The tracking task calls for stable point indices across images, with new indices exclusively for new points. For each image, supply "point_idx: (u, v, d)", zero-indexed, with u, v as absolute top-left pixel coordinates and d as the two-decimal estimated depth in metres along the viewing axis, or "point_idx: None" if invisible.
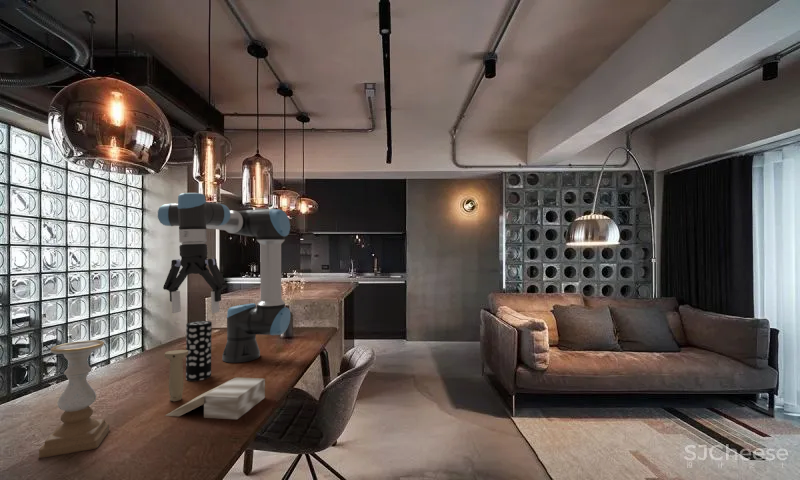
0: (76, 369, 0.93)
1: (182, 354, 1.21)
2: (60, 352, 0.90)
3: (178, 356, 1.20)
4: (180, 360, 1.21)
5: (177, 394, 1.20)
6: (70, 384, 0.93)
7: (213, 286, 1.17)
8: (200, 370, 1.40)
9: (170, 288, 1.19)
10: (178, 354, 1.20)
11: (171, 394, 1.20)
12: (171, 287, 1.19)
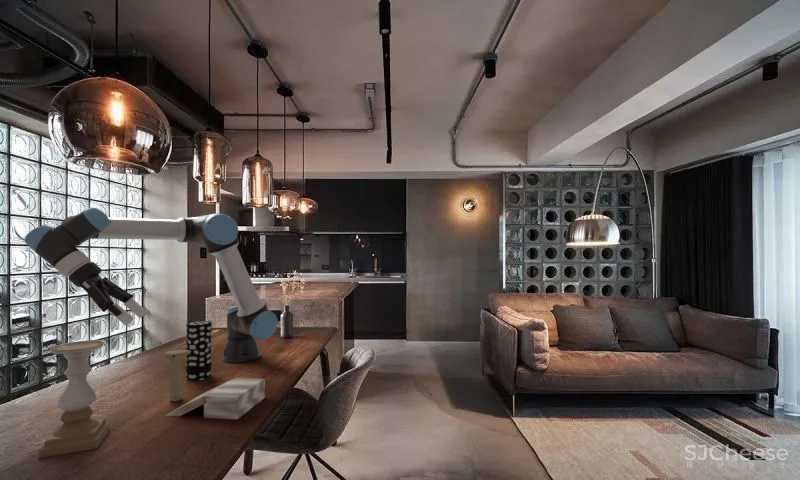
0: (76, 369, 0.93)
1: (182, 354, 1.21)
2: (60, 352, 0.90)
3: (178, 356, 1.20)
4: (180, 360, 1.21)
5: (177, 394, 1.20)
6: (70, 384, 0.93)
7: None
8: (200, 370, 1.40)
9: None
10: (178, 354, 1.20)
11: (171, 394, 1.20)
12: None
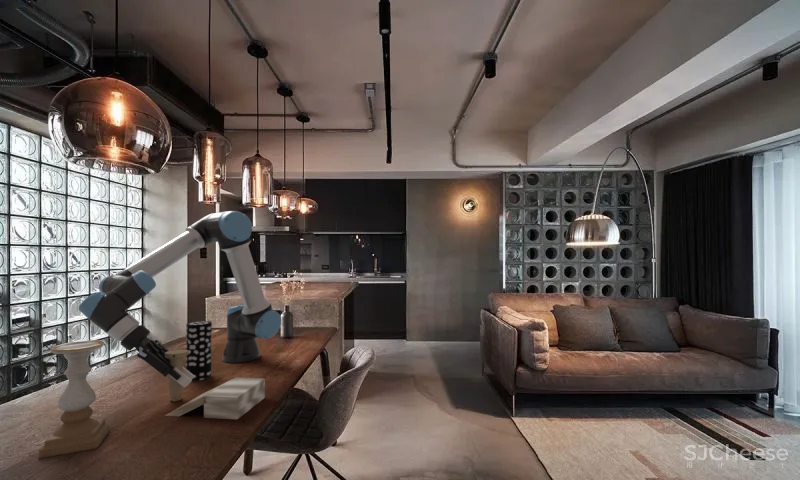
0: (76, 369, 0.93)
1: (182, 354, 1.21)
2: (60, 352, 0.90)
3: (178, 356, 1.20)
4: (180, 360, 1.21)
5: (177, 394, 1.20)
6: (70, 384, 0.93)
7: None
8: (200, 370, 1.40)
9: None
10: (178, 354, 1.20)
11: (171, 394, 1.20)
12: None
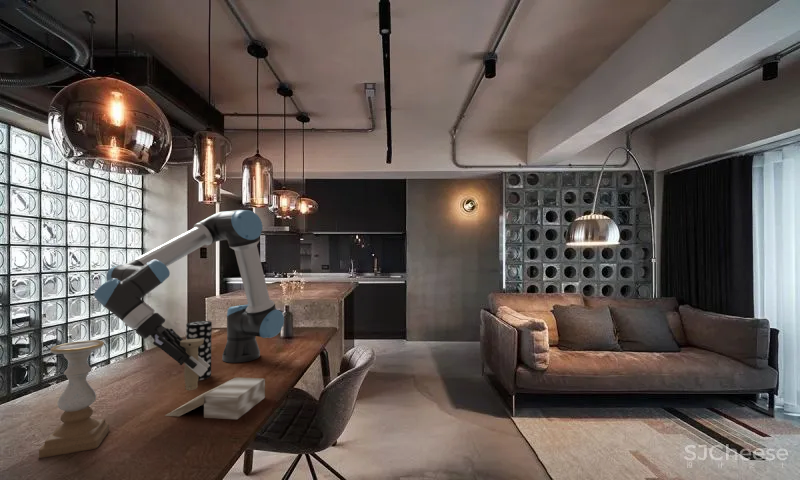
0: (76, 369, 0.93)
1: (198, 342, 1.19)
2: (60, 352, 0.90)
3: (194, 344, 1.18)
4: (196, 349, 1.20)
5: (193, 383, 1.19)
6: (70, 384, 0.93)
7: None
8: None
9: None
10: (194, 342, 1.18)
11: (187, 383, 1.18)
12: None
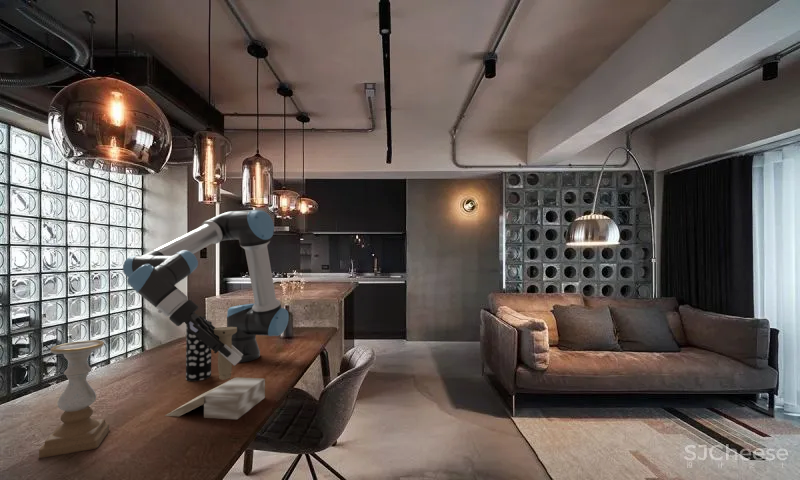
0: (76, 369, 0.93)
1: (232, 330, 1.16)
2: (60, 352, 0.90)
3: (228, 332, 1.15)
4: (229, 337, 1.16)
5: (226, 372, 1.15)
6: (70, 384, 0.93)
7: None
8: (200, 370, 1.40)
9: None
10: (228, 330, 1.15)
11: (220, 372, 1.15)
12: None
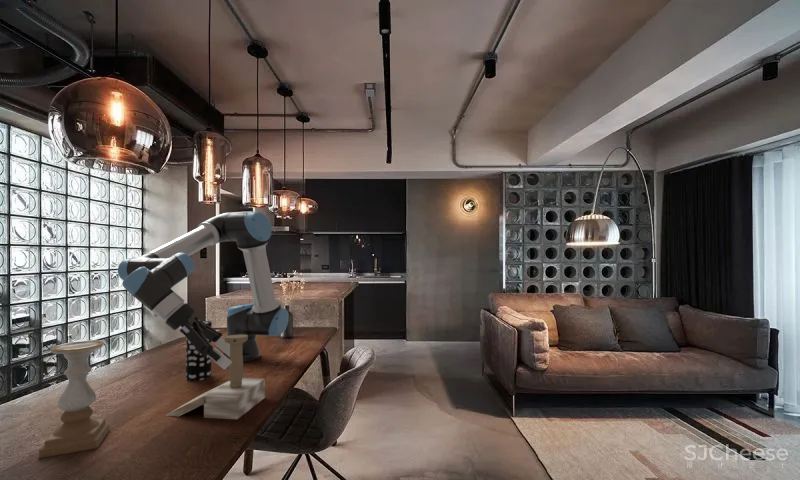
0: (76, 369, 0.93)
1: (243, 338, 1.15)
2: (60, 352, 0.90)
3: (239, 340, 1.14)
4: (240, 345, 1.16)
5: (237, 380, 1.15)
6: (70, 384, 0.93)
7: None
8: (200, 370, 1.40)
9: (212, 340, 1.21)
10: (239, 338, 1.14)
11: (231, 380, 1.14)
12: None
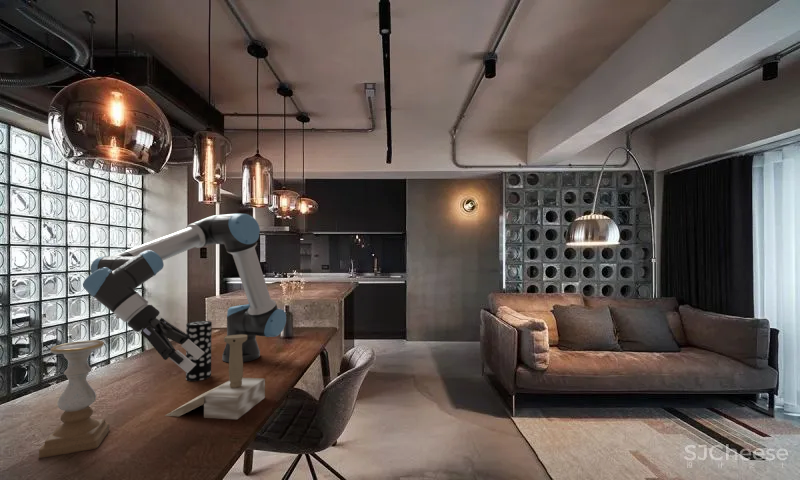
0: (76, 369, 0.93)
1: (242, 338, 1.15)
2: (60, 352, 0.90)
3: (238, 340, 1.14)
4: (240, 345, 1.16)
5: (237, 380, 1.15)
6: (70, 384, 0.93)
7: None
8: (200, 370, 1.40)
9: (179, 342, 1.18)
10: (238, 338, 1.14)
11: (231, 380, 1.14)
12: None
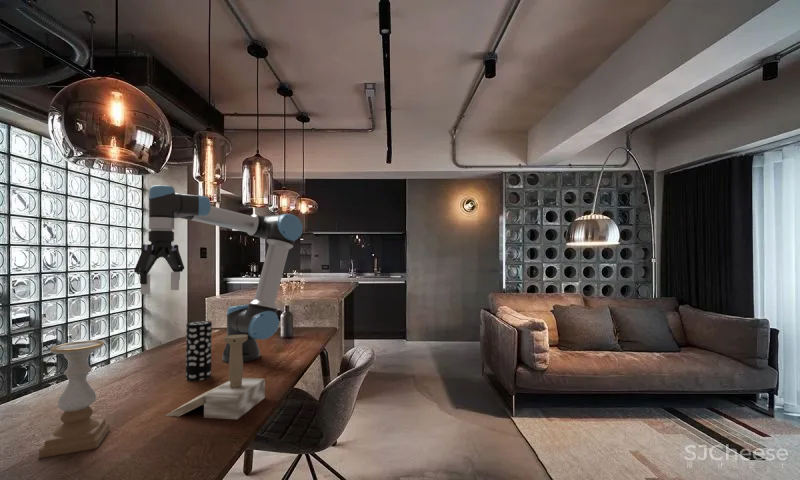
0: (76, 369, 0.93)
1: (243, 338, 1.15)
2: (60, 352, 0.90)
3: (239, 340, 1.14)
4: (240, 345, 1.16)
5: (237, 380, 1.15)
6: (70, 384, 0.93)
7: None
8: (200, 370, 1.40)
9: None
10: (239, 338, 1.14)
11: (231, 380, 1.14)
12: None
